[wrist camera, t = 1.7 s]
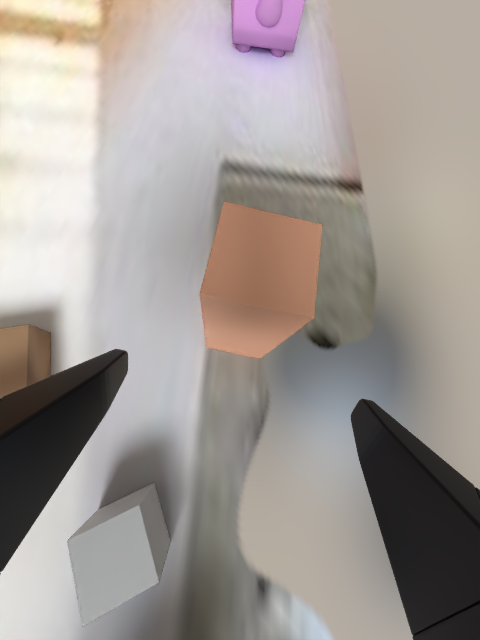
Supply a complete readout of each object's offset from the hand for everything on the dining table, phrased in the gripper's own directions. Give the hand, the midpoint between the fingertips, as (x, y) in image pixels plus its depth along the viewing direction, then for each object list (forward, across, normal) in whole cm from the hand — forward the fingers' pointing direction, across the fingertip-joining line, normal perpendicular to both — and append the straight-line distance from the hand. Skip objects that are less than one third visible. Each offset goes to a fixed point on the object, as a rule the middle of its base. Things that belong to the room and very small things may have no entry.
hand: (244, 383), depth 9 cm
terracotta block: (+13, 0, +4) cm, 13 cm away
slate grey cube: (+1, +5, +16) cm, 17 cm away
